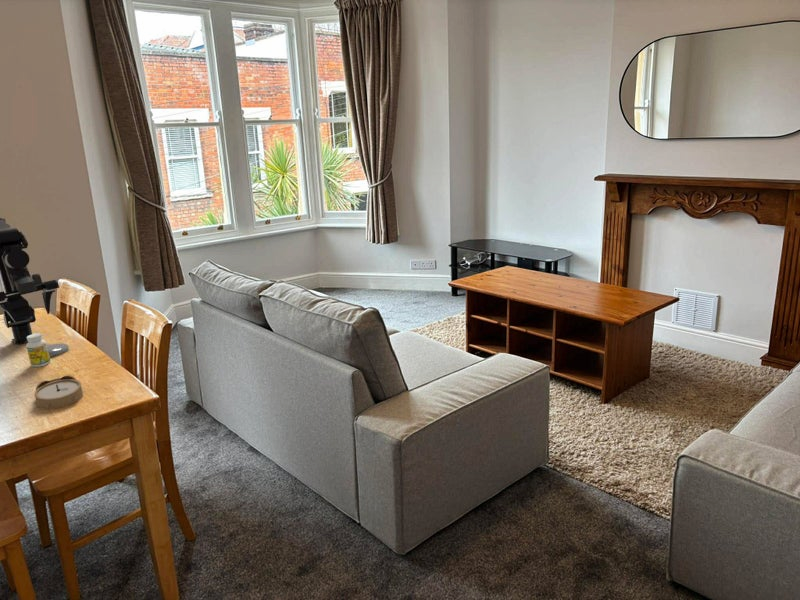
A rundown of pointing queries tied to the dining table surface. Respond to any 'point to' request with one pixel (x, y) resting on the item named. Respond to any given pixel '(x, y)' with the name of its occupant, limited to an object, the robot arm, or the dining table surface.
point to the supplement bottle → (37, 350)
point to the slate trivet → (57, 349)
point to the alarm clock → (58, 392)
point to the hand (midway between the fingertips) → (32, 318)
